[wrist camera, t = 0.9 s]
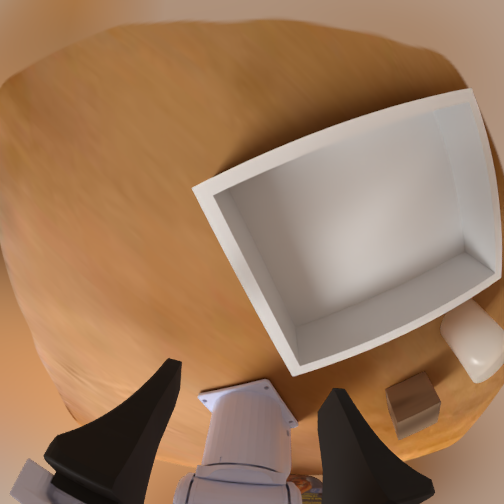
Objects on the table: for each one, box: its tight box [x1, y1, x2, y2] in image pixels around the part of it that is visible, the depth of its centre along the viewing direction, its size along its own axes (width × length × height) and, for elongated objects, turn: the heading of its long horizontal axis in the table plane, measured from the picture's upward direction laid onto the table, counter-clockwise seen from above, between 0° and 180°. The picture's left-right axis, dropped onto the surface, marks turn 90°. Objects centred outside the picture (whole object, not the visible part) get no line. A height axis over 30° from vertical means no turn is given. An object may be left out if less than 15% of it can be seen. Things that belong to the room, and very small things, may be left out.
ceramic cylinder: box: [440, 298, 504, 383], centre depth 17 cm, size 5×5×7 cm
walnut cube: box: [385, 371, 441, 440], centre depth 22 cm, size 5×5×5 cm
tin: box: [286, 474, 323, 504], centre depth 30 cm, size 15×3×8 cm, turn 65°
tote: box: [192, 88, 502, 377], centre depth 15 cm, size 14×18×5 cm
